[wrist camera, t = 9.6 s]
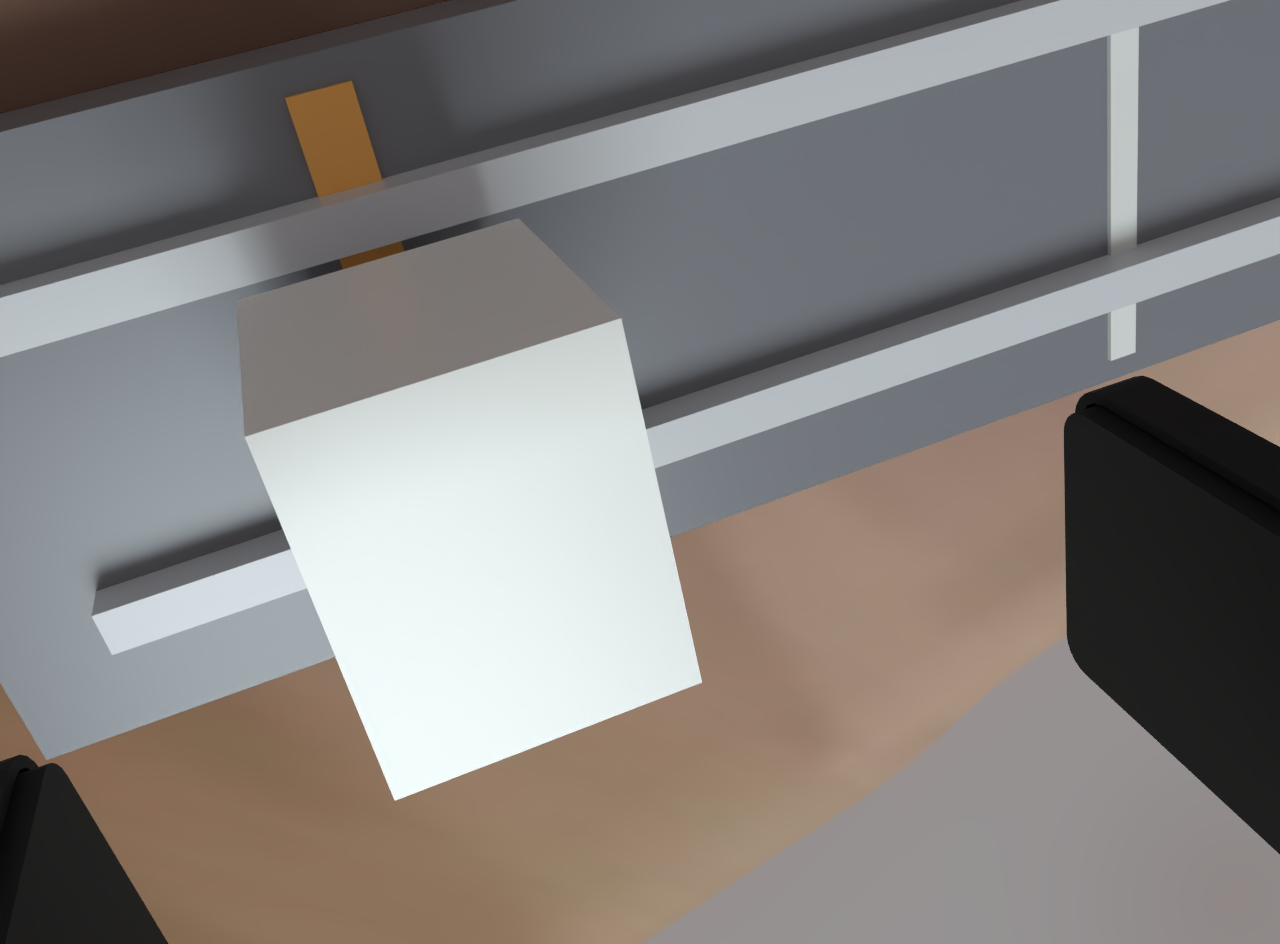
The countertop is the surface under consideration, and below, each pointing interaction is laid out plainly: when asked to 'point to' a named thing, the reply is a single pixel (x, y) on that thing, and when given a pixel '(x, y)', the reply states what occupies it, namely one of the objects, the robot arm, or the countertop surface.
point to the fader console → (597, 266)
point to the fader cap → (467, 497)
